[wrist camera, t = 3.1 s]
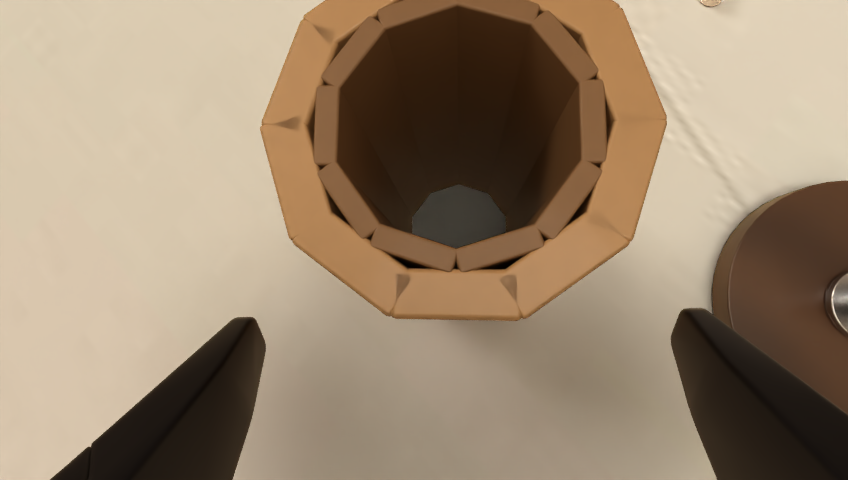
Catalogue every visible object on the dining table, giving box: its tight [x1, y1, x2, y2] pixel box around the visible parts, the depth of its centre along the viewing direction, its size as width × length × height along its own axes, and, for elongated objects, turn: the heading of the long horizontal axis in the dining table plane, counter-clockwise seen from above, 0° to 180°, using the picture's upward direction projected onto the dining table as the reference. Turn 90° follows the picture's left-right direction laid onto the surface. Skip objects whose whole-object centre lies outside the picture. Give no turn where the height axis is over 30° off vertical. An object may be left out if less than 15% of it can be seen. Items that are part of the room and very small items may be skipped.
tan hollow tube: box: [260, 0, 667, 321], centre depth 15 cm, size 7×7×13 cm
